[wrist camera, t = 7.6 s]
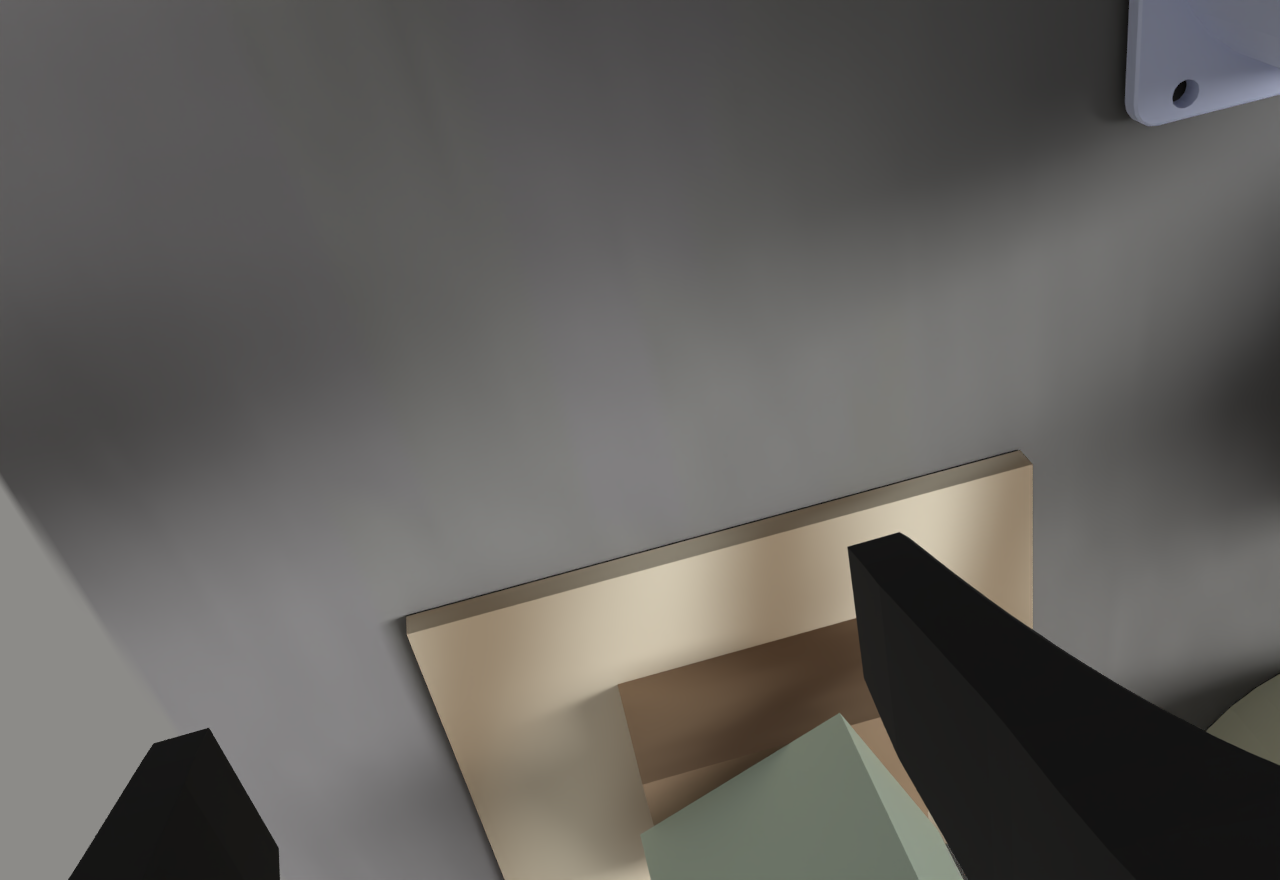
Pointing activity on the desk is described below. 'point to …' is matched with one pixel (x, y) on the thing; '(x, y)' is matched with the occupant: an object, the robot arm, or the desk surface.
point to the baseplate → (689, 664)
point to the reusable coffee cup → (1254, 722)
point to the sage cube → (803, 821)
